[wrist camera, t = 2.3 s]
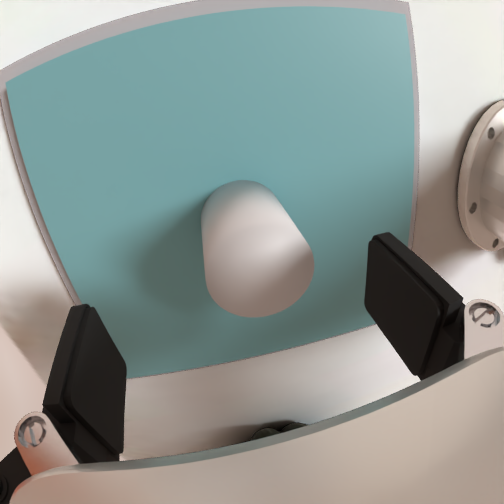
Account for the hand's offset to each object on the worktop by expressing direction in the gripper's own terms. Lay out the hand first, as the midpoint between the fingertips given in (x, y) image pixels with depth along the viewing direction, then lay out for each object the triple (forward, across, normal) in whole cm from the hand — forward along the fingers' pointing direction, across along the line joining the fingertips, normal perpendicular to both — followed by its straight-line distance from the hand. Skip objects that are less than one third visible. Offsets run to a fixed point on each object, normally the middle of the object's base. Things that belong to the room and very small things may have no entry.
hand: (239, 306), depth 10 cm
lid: (+7, -1, 0) cm, 7 cm away
